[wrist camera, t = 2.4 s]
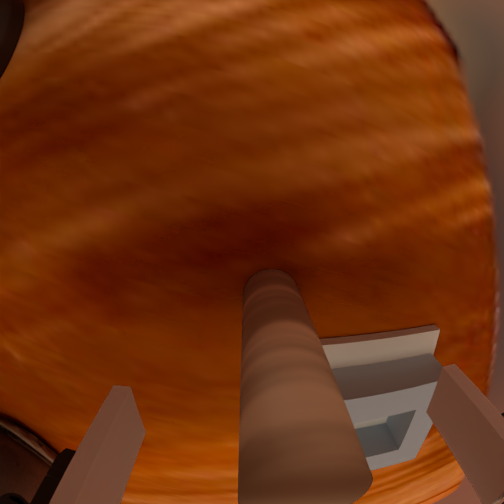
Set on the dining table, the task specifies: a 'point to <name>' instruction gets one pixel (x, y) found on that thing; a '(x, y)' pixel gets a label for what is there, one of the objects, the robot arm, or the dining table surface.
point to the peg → (292, 406)
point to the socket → (387, 389)
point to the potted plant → (22, 460)
